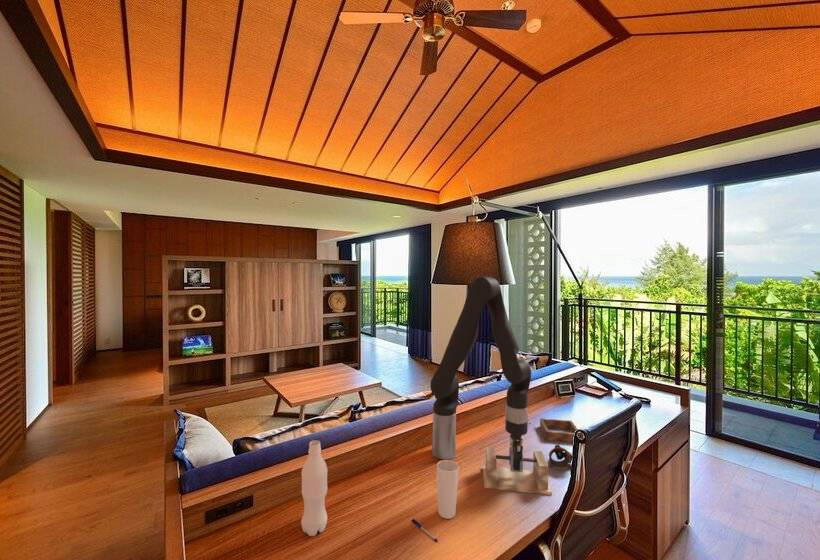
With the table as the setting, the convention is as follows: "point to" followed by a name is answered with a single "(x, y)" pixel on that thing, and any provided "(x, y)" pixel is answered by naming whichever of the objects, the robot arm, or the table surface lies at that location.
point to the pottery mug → (560, 457)
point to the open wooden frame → (557, 424)
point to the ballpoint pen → (424, 529)
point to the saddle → (512, 461)
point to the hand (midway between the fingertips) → (515, 465)
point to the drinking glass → (447, 487)
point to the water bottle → (314, 490)
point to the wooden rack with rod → (517, 474)
